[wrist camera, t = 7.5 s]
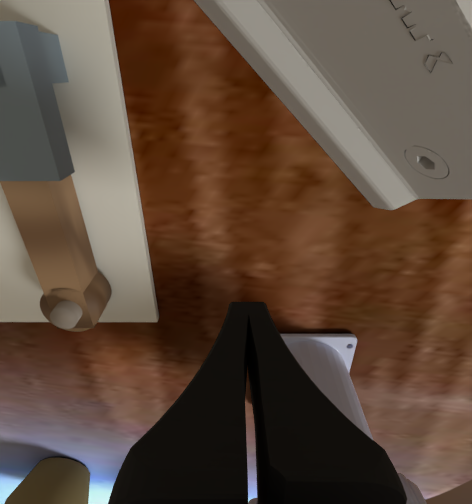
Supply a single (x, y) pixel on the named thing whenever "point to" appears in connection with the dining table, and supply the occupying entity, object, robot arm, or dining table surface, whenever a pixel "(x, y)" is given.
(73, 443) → the dining table surface
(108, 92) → the keeper board
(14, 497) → the squeeze bottle
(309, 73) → the white rounded block
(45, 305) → the link arm
